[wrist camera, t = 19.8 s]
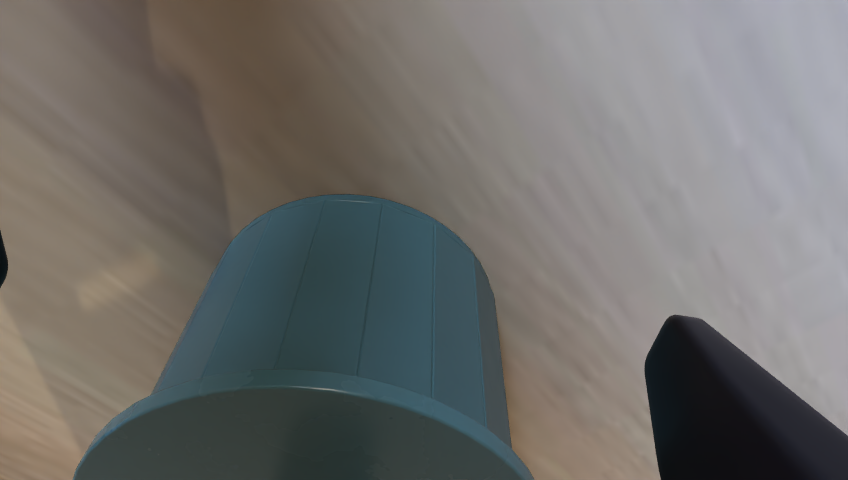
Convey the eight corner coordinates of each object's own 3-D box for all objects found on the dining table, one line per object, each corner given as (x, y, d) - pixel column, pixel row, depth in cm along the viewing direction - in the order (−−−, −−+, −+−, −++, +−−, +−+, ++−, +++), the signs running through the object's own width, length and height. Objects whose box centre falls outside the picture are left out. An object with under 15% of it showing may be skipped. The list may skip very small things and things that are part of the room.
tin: (254, 145, 21) (147, 331, 14) (548, 260, 24) (601, 474, 16) (185, 361, 27) (83, 578, 20) (426, 436, 30) (421, 654, 22)
